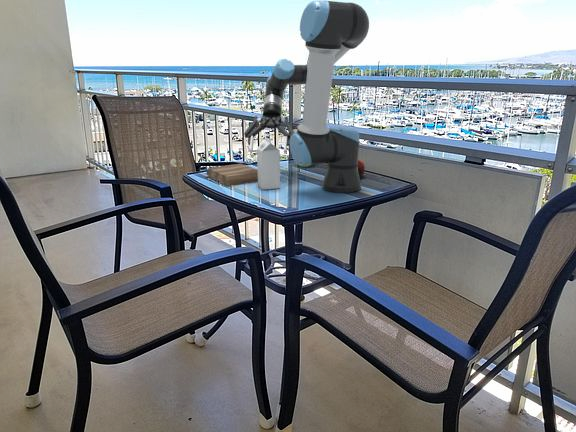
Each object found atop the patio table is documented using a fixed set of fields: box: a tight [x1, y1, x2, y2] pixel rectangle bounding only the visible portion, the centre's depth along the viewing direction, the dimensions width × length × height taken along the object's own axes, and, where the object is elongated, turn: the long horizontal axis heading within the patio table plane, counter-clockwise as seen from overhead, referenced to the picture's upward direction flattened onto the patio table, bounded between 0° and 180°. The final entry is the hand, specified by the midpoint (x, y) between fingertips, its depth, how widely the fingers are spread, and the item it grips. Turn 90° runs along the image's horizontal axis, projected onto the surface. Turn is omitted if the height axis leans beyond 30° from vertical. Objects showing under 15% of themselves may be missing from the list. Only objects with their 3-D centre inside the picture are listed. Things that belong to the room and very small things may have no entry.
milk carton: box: [256, 137, 281, 190], centre depth 161 cm, size 7×7×19 cm
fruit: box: [358, 158, 366, 178], centre depth 179 cm, size 9×10×10 cm
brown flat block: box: [206, 163, 258, 187], centre depth 177 cm, size 20×16×4 cm
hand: (267, 151), depth 164 cm, fingers open, 13 cm apart
